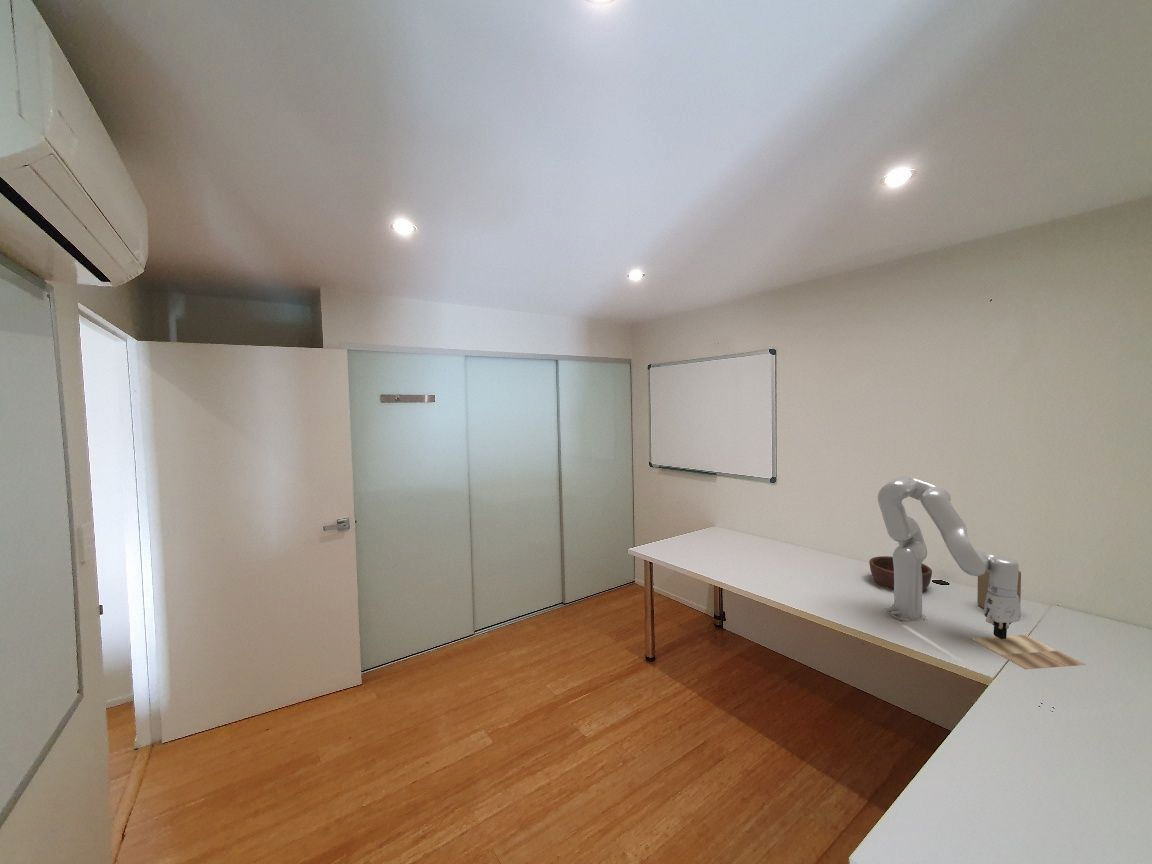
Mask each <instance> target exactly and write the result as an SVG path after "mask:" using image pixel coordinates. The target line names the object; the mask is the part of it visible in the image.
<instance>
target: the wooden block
mask: <svg viewBox="0 0 1152 864" xmlns="http://www.w3.org/2000/svg"><path fill="white" fill-rule="evenodd" d="M1021 572H1022V571H1020V570H1019V572H1018V587H1017V595H1018V597H1019V600H1020V601H1021V599H1022V598H1021V594H1022V573H1021ZM988 588H989V572H988V571H986V573H985V574H983V575H981V576H977V606H979V607H980V608H982V609H984V605H985V600H986V596H987V593H988Z"/></svg>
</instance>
